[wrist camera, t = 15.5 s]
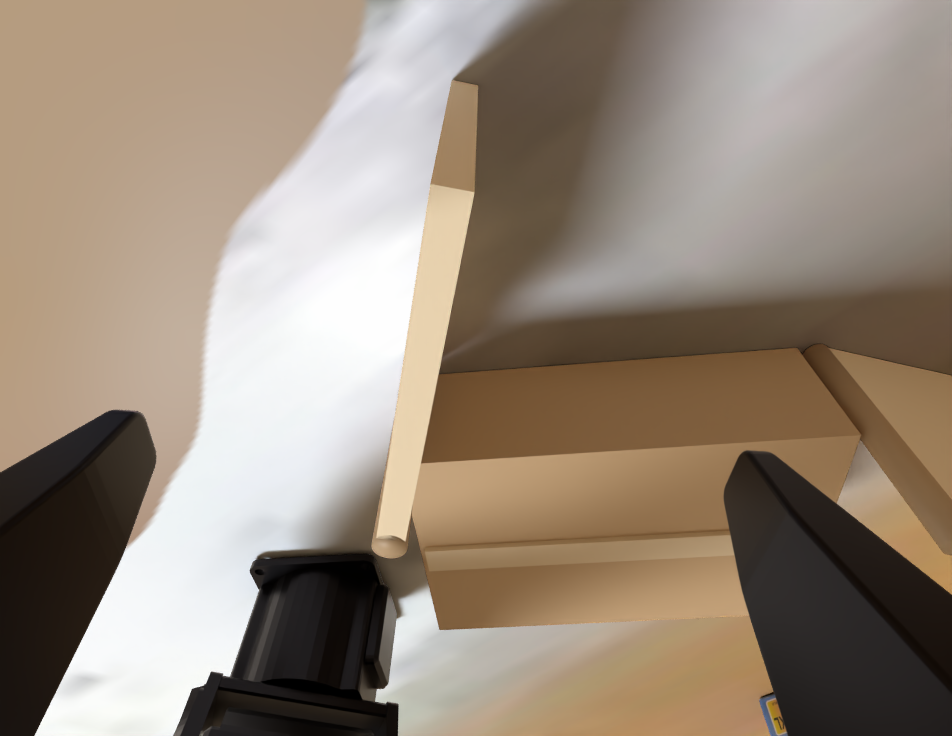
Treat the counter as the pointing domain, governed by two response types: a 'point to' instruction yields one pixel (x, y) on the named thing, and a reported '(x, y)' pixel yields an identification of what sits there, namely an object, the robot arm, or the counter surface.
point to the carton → (608, 483)
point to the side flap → (429, 315)
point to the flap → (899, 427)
